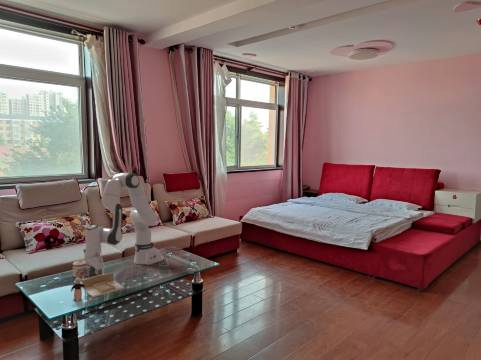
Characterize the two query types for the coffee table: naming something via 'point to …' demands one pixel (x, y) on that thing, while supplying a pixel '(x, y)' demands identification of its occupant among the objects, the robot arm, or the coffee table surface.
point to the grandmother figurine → (77, 289)
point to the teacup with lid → (80, 268)
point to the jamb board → (100, 285)
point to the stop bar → (91, 272)
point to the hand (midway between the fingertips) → (94, 272)
